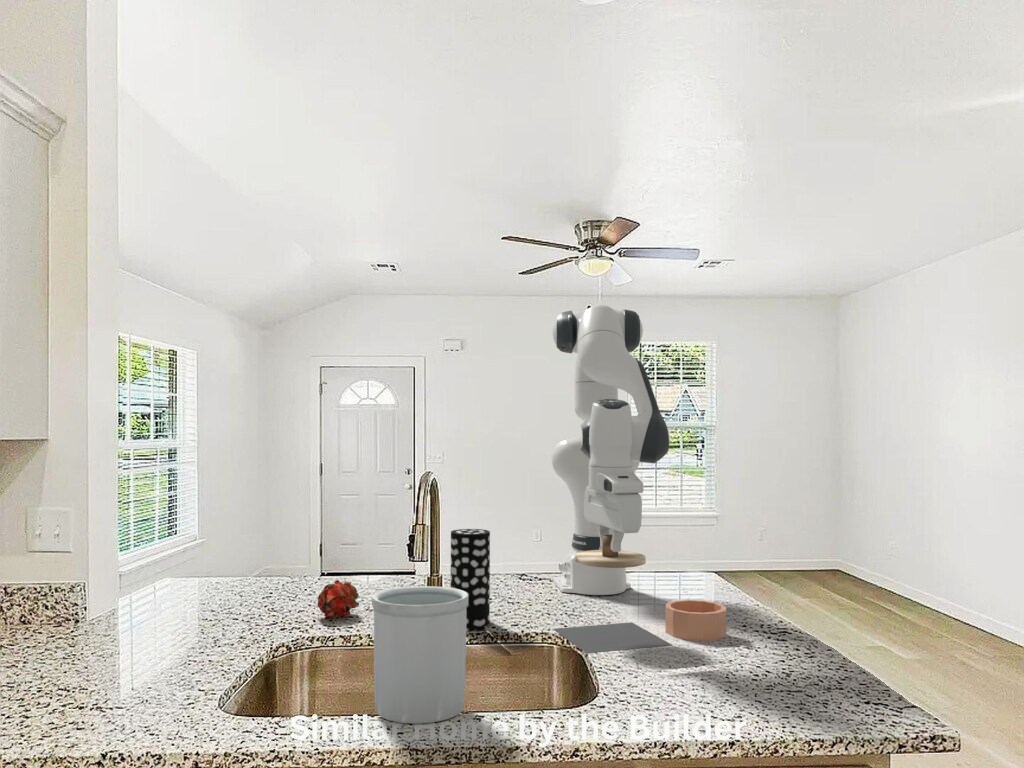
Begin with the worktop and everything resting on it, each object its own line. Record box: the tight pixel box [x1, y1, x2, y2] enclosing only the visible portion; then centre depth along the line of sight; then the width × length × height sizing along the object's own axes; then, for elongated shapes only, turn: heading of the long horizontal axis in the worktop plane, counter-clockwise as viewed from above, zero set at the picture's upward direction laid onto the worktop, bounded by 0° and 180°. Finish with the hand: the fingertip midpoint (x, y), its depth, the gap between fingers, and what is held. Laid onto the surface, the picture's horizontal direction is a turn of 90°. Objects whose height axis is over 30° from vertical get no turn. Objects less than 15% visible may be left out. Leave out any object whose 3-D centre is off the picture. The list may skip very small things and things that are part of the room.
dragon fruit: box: [317, 579, 360, 620], centre depth 188 cm, size 8×8×12 cm
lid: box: [575, 535, 647, 569], centre depth 170 cm, size 14×14×5 cm
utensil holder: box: [371, 585, 468, 724], centre depth 132 cm, size 15×15×18 cm
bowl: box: [665, 599, 727, 642], centre depth 173 cm, size 12×12×6 cm
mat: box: [552, 621, 673, 654], centre depth 170 cm, size 18×18×1 cm
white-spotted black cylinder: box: [450, 528, 491, 632], centre depth 181 cm, size 8×8×20 cm
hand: (610, 549), depth 170 cm, fingers closed on lid, 3 cm apart
